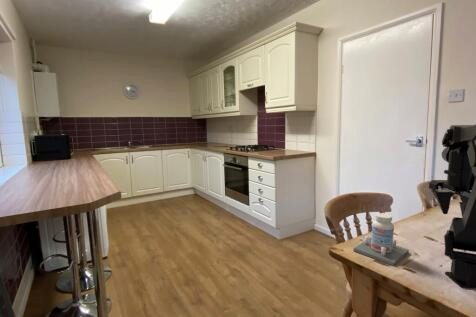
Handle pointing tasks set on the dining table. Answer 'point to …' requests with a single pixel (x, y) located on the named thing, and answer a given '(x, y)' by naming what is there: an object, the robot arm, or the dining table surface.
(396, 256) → the pin tray
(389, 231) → the pill bottle
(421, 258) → the dining table surface
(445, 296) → the dining table surface
